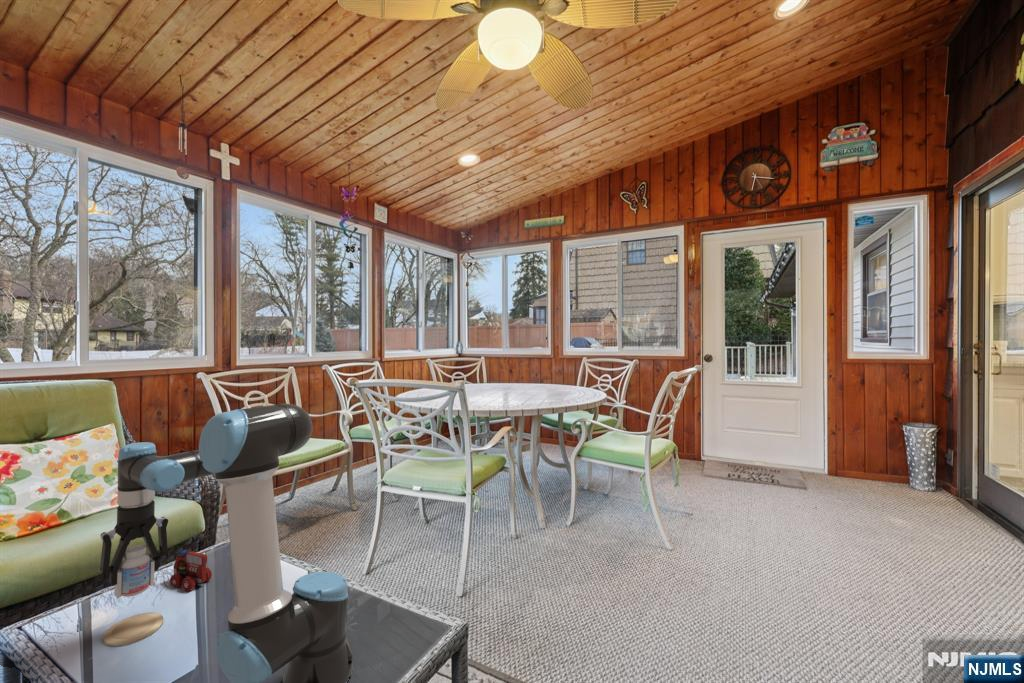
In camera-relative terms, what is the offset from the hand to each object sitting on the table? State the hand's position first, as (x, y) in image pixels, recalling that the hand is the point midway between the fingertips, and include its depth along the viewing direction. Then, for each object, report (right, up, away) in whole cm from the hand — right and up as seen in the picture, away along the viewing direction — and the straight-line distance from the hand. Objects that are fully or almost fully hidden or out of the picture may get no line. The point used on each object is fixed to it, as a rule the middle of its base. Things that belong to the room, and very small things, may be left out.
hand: (134, 589), depth 116 cm
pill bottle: (0, -1, 0) cm, 1 cm away
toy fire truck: (-1, -11, +22) cm, 24 cm away
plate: (0, -11, 0) cm, 11 cm away
